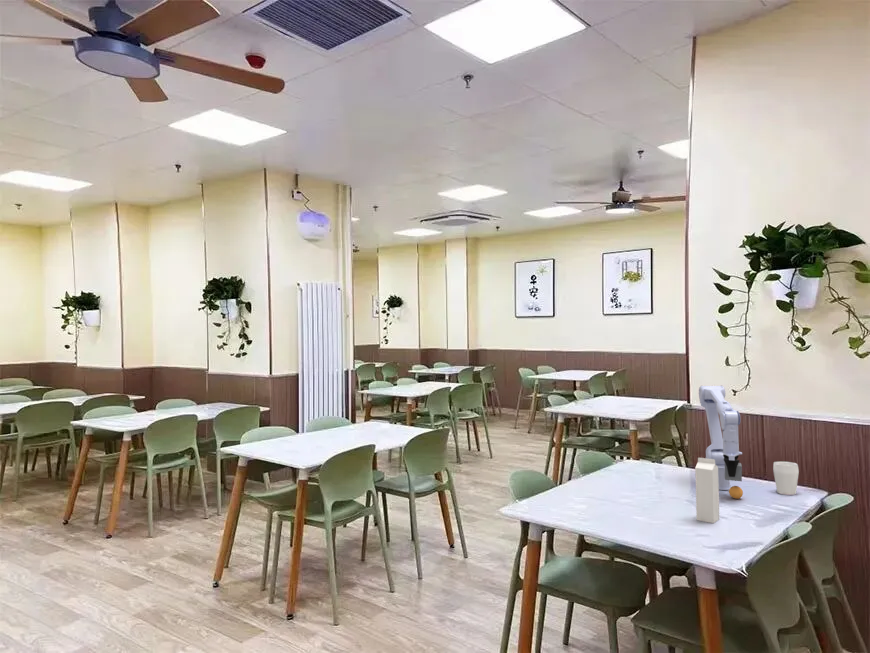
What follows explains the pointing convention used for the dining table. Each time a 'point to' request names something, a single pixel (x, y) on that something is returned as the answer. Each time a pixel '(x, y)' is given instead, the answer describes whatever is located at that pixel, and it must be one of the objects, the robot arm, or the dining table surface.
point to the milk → (707, 490)
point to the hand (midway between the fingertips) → (731, 474)
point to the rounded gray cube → (737, 477)
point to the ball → (735, 492)
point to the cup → (786, 477)
